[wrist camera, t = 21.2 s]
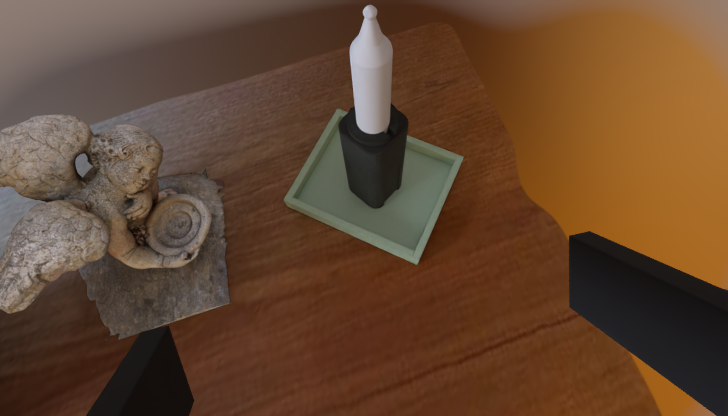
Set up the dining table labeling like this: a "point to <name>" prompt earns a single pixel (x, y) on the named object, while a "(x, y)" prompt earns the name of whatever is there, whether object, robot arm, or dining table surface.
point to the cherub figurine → (111, 225)
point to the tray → (400, 211)
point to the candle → (373, 119)
